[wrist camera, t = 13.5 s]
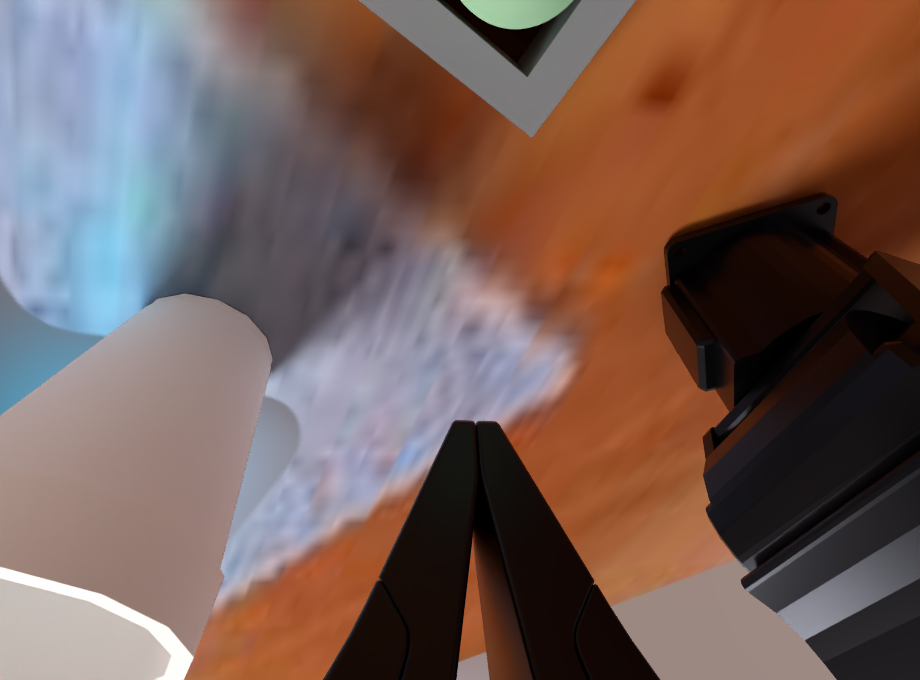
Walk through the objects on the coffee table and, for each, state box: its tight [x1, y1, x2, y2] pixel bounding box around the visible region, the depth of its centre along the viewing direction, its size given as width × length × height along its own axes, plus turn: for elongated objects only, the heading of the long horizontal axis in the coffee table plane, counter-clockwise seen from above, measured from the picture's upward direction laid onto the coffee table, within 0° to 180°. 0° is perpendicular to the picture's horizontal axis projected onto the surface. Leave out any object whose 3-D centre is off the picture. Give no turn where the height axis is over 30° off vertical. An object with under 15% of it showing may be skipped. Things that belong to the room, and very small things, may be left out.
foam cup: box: [0, 293, 273, 680], centre depth 18 cm, size 10×9×13 cm
